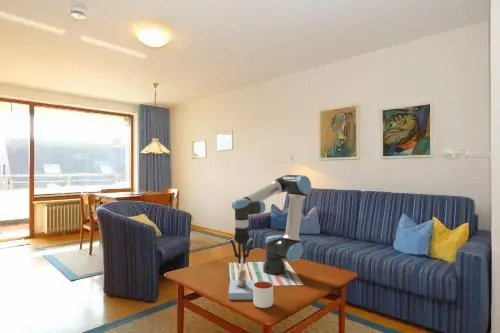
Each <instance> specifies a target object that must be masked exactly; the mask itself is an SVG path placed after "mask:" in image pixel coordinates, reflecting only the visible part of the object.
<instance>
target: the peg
mask: <svg viewBox="0 0 500 333" xmlns="http://www.w3.org/2000/svg"><path fill="white" fill-rule="evenodd" d="M237 272H238V273H237V274H238V276H237V277H238V278H237V280H238V287H239V288H245V287H246V280H247V278H246V277H247V274H246V273H247V270H246V269H243V270H241V269H238V271H237Z"/></svg>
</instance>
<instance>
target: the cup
mask: <svg viewBox="0 0 500 333" xmlns="http://www.w3.org/2000/svg"><path fill="white" fill-rule="evenodd" d="M252 300H253V302H252V303H253V305H254V306H255V307H256V308H259V309H268V308H270V307H272V306H273V304H274V284H273V283H272V282H269V281H266V280H265V281H257V282H254V285H253V299H252Z"/></svg>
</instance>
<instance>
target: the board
mask: <svg viewBox="0 0 500 333" xmlns="http://www.w3.org/2000/svg"><path fill="white" fill-rule="evenodd" d="M254 283H255V279H246V287H245V288H239V287H238V279H232V280H229V288H228V295H227V296H228V298H227V299H228V300H230V301H231V300H236V301H237V300H238V301H239V300H241V301H245V300H246V301H248V300H253V285H254Z"/></svg>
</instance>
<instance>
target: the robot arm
mask: <svg viewBox="0 0 500 333" xmlns="http://www.w3.org/2000/svg"><path fill="white" fill-rule="evenodd" d="M311 190H312V183H311V180H310V178H309V177H308V176H307V175H301V174H286V175H282V176H280V177H278V178H276V179H273V180H272V181H271V183H270V184H268V185H265V186H264V187H261V188H260V189H257V190H256V191H254V192H252V193H250V194H248V195H246V196H244V197H242V198H235V199H234V200H233V201H232V202H231V203H232V204H231V207H232V209H233V210H234V237H233V238H231V239H230V241H229V242H230V243H231V244H232V249H233V253H234V257H235V258H238V259H237V260H238V261H237V263H238V265H240V270H244V264H246V259H247V258H249V256H250V251H251V247H252V244H253V242H254V239H253V238H251V237H250V235H249V219H250V218H249V216H253V215H260V214H264V212H266V204H265V202H264V201H265V200H267V199H269V198H271V197H273V196H275V195H276V194H277V195H280V194H282V193H287V195H288V196H289V203H288V210H287V217H286V224H285V225H286V226H285V233H284V234H283V235H278V234H277V235H276V234H275V235H268V236H267V237H266V238H265V260H264V264H263V267H262V270H263V272H264V273H266V274H269V275H281V274H282V275H283V274H284V273H286V272H287V267H286V263H285V261H284V259H285V260H287V261H292V262H297V261H298V260H299V259H300V258H301V257H302V256H303V253H304V246H303V244H302V243H301V238H300V237H299V235H300V228H301V227H300V226H301V220H302V213H303V204H304V200H305V199H306V198H307V195H308V194H309V193H310V192H311ZM235 242H236V243H237V244H238V245H237V246H238V248H236V243H235ZM247 243H248V246H247V250H246V244H247ZM241 246H242V248H241ZM237 249H238V250H237ZM237 251H238V252H237ZM241 251H242V252H241ZM241 255H242V256H241Z"/></svg>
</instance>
